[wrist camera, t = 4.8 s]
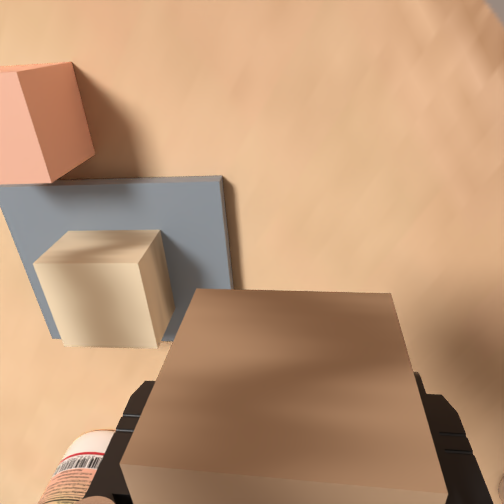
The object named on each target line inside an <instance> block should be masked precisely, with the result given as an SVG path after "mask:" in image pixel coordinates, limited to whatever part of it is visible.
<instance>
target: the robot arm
mask: <svg viewBox="0 0 504 504" xmlns="http://www.w3.org/2000/svg"><path fill="white" fill-rule="evenodd" d="M413 373H414V376H415V380H416V383H417V387H418V390H419V394H420V397H421V401H422V404H423V408H424V411H425V415H426V418H427V422H428V425H429V429H430V432H431V436H432V439H433V443H434V446H435V450H436V453H437V457H438V460H439V464H440V467H441V471H442V474H443V477H444V481H445V484H446V488H447V491H448V496H447V499H446V503H445V504H493V501H492V499H491V496H490V494H489V491H488V489H487V486H486V484H485V481H484V478H483V476H482V473H481V471H480V468H479V466H478V463H477V461H476V458H475V456H474V455H473V452H472V448H471V445H470V443H469V440H468V438H466V433H465V430H464V428H463V425H462V423H461V420H460V418H459V415H458V413H457V412H456V410H455V409H454V408H453V407H452V406H451V405H450V404H449V402H448V401H447V400H446V399H445V398H444V397H443V396H442V395H435V394H426V392H425V389H424V386H423V383H422V380H421V377H420V375H419V373H418V372H413ZM155 382H156V381H145V382H144V383H143V384H142V385H141V386H140V387H139V388H138V389H137V390H136V391H135V392H134V393H133V394H132V395H131V397H130V399H129V401H128V403H127V406H126V408H125V410H124V412H123V417H121V419H120V421H119V423H118V425H117V427H116V432H114V434H113V436H112V438H111V440H110V443H109V445H108V447H107V449H106V451H105V454H104V456H103V458H102V460H101V462H100V464H99V467H98V469H97V471H96V473H95V475H94V477H93V480H92V482H91V484H90V486H89V488H88V490H87V492H86V494H85V495H84V497H83V498H82V500H80V501H78V502H76V503H74V504H133V501H132V498H131V495H130V493H129V490H128V487H127V484H126V481H125V478H124V475H123V472H122V470H121V467H120V461H121V459H122V457H123V455H124V452H125V450H126V448H127V445H128V443H129V441H130V439H131V436H132V434H133V432H134V430H135V427H136V425H137V423H138V420H139V418H140V416H141V414H142V411H143V409H144V407H145V405H146V402H147V400H148V398H149V395H150V393H151V391H152V389H153V386H154V384H155ZM498 492H499V497H500V499H501V501H502V504H504V477H503V479H502V480H501V482H500V484H499V489H498Z"/></svg>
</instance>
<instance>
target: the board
mask: <svg viewBox="0 0 504 504" xmlns="http://www.w3.org/2000/svg"><path fill="white" fill-rule="evenodd" d="M0 207H1V210H2V212H3V215H4V217H5V220H6V222H7V225H8V227H9V230H10V232H11V235H12V237H13V240H14V242H15V245H16V248H17V250H18V253H19V255H20V258H21V260H22V263H23V265H24V268H25V270H26V273H27V275H28V278H29V280H30V283H31V286H32V288H33V291H34V293H35V296H36V298H37V301H38V303H39V306H40V308H41V311H42V313H43V316H44V318H45V321H46V324H47V326H48V329H49V331H50V334H51V336H52V339H61V337H60V334H59V331H58V329H57V326H56V323H55V321H54V318H53V316H52V313H51V310H50V308H49V305H48V302H47V300H46V297H45V295H44V292H43V289H42V287H41V284H40V281H39V279H38V276H37V274H36V271H35V268H34V266H33V263H34V262H35V261H36V260H37V259H38V258H39V257H40V256H41V255H43V254H44V253H45V252H46V251H47V250H48V249H49V248H50V247H51V246H52V245H54V244H55V243H56V242H57V241H58V240H59V239H60V238H61V237H62V236H63V235H64V234H66V233H67V232H68V231H94V230H160V231H161V236H162V242H163V247H164V252H165V257H166V262H167V268H168V273H169V278H170V283H171V288H172V293H173V299H174V304H175V310H174V312H173V315H172V317H171V319H170V322H169V324H168V326H167V329H166V331H165V333H164V335H163V338H162V340H161V341H174V339H175V336H176V334H177V332H178V329H179V327H180V325H181V323H182V320H183V318H184V316H185V313H186V311H187V309H188V307H189V304H190V302H191V300H192V298H193V295H194V293H195V291H196V288H198V289H234V287H233V277H232V267H231V258H230V248H229V238H228V228H227V219H226V209H225V199H224V190H223V180H222V176H189V177H154V178H118V179H83V180H55V181H54V182H52V183H35V184H0Z"/></svg>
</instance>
